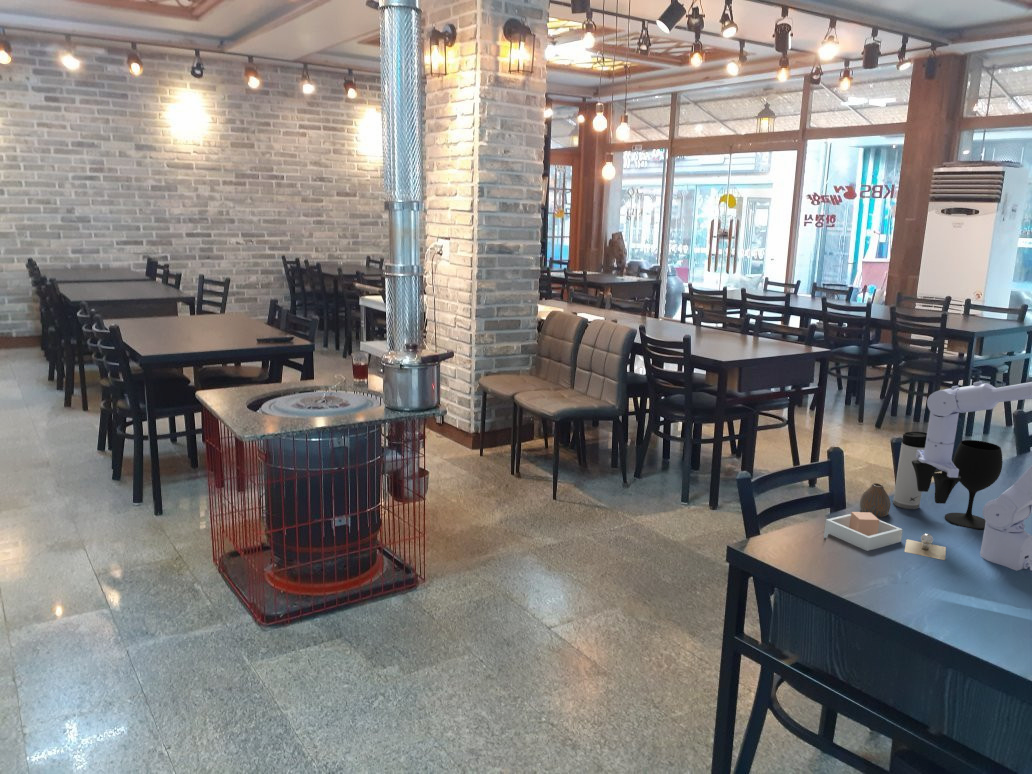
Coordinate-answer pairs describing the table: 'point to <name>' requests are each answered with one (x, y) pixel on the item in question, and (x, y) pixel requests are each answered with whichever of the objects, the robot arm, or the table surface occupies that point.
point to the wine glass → (975, 476)
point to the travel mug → (908, 471)
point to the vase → (875, 501)
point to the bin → (842, 531)
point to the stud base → (925, 547)
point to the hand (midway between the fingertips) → (931, 496)
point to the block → (864, 523)
